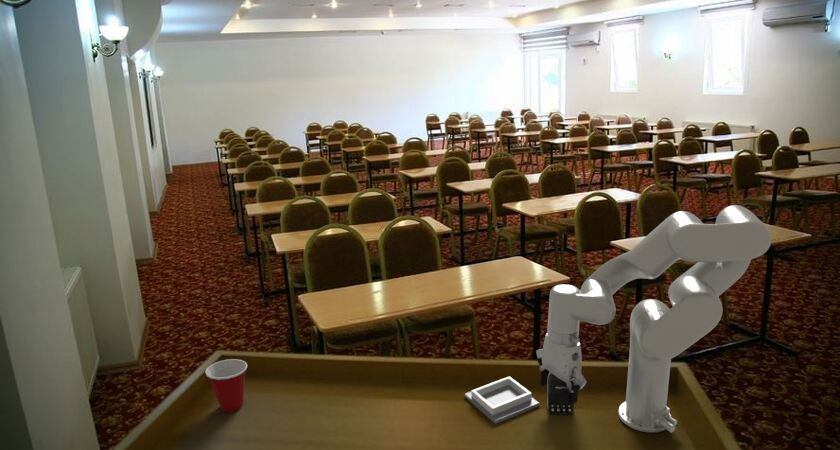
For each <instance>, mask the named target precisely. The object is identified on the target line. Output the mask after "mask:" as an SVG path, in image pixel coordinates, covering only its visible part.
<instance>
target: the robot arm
mask: <svg viewBox="0 0 840 450" xmlns="http://www.w3.org/2000/svg"><path fill="white" fill-rule="evenodd" d="M771 243H772V234H771V231H770V230H769V228H768V226H767V225H766V224H765V223H764V222H763V221H761V219H759V218H758V217H757V215H755V214H754V212H752V211H751V210H750V209H748V208H746V207H745V206H742V205H739V204H738V205H737V204H734V205H733V204H732V205H729V206H726V207H724V208H723V209H722V210H720V212H719V213H718V215H717V217H716V220H715V222H714V223H703V222H702V220H701V219H700V218H699V217H698V216H696V215H695V214H694V213H691V212H690V211H686V210H680V211H676V212H674V213H672V214H670V215H669V216H668V217H666V218H665V219H664V220H663V221H662V222H661V223H659V224H658V226H656V227H655V228H654V229H653V230H652V231H650V232H649V233H648V234H647V235H645V237H644V238H643V239H641V241H639V242H638V243H637V244H636V245H635V246H633V247H632V248H631V249H630V250H629V251H626V252H625V253H622V254H619V255H617V256H616V257H613V258H611V259H610V260H608V261H606V262H605V263H603V264H602V265H601V266H599V267H598V268H597V269H596V270H595V271H594V272H593V273H592V274H591V275H590V276H588V278H586V279H585V281H584V282H583V284H582V285H581V287H580V289H579V288H578V287H577V286H575V285H572V284H565V283H563V284H557V285H556V284H555V286H553V287H552V288H551V289H550V291H549V302H548V315H547V316H548V317H547V331H546V332H547V333H546V334H545V337H544V341H543V347H542V348H539V349H537V350H535V352H536V357H537V363H538V365H539V368H538V369H539V371H540V380H539V381H540V382H539V385H540V386H542V387H543V386H547V380H548V374H549V372H551V373H552V374H553V375H555V376H556V377H558V378H559V379H561V380H562V381H564V382H566V384H567V387H568V389H569V390H568V391H567V395H566V405H571V404H573V403H574V404H575V403H577V402H578V395H579V391H580V390H582V389H584V387H585V386H586V384H587V383H588V382H587V380H586V378H585V376H584V375H583V374H582V364H583V363H582V362H583V361H582V347H581V343H580V341H581V339H580V338H579V335H580V333H579V331H580V321H581V322H585V323H589V324H593V325H598V326H599V325H606V324H609V323H611V322H612V321H613V320H614V319H615V316H616V312H617V311H616V308H617V307H616V305H615V300H614V297H613V295H614V294H615V293H616V292H617V291H619V290H620V289H621V288H623V287H624V286H625V285H626V284H627V283H629V282H631V281H634V280H637V279H645V280H646V279H648V280H655V279H657V278H659V276H661V275H662V274H663V273H664V272H666V271H667V270H668V269H669V268H670V267H671V266H672V265H673V264H675V263H676V262H678V261H679V260H680V259H681V261H685V262H690V263H691V262H692V263H695V264H694V265H693V266H691V267H690V268H688V269H687V270H686V271H685V272H684V273H682V274H681V275H679V276H678V277H677V278H676V279H674V281H672V283H671V284H670V285H669V287H668V289H667V290H668V291H667V292H668V293H667V294H668V299H669V302H670V304H671V306H672V307H671V308H670V307H668V306H667V304H665V303H664V302H662V301H661V300H658V299H655V298H654V299H652V298H647V299H644V300H641V301H639V302H638V303H637V304H636V305H635V306H634V308H633V309H632V311H631V314H630V317H629V318H630V319H629V355H628V367H627V369H628V370H627V382H626V393H625V401H624V402H622V403H621V404H620V405H619V408H618V418H619V419H620V420H621V422H623V423H624V424H625V425H626V426H628V427H629V428H631V429H633V430H636V431H639V432H644V433H650V434H651V433H660V432H663V431H668V432H669V433H671V434H673V433H674V431H675V430H676V426H677V424H678V420H677V419H675V418H674V417H672V415H671V412H670V410H671V408H670V407H668V406H667V403H668V402H667V401H668V393H669V383H670V382H669V381H670V372H671V364H672V363H671V362H672V359H673V358H675V357H677V356H678V355H680V354H682V353H683V352H684V351H686V350H687V349H689V348H690V347H691V346H692V345H694V344H695V343H696V342H698V341H700V339H702V338H703V337H705V336H706V335H707V334H709V333H710V332H711V331H712V330H713V329H715V328H716V327H717V325H718V323H720V321H721V318H722V316H723V310H724V309H723V303H722V301H721V299H720V296H721V295H722V294H723V293H724V292H726V291H727V290H728V289H730V287H732V286H733V285H734V284H736V282H737V281H738V280H739V279H741V278H742V276H743V275H744V274H745V272H747V270H748V269H749V268H748V267H749V265H750V264H751V261H752V260H753V259H757V258H759V257H761V256H763V255H764V254H765V253H767V251H768V250H769V248H770V247H771ZM571 376H572V378H571ZM570 381H573V382H574V385H575V386H573V387H572V385H571V382H570Z"/></svg>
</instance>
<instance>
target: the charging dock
mask: <svg viewBox="0 0 840 450" xmlns="http://www.w3.org/2000/svg"><path fill="white" fill-rule="evenodd" d="M532 394H533V393H532V392H531V391H530V390H528V389H527V388H526V387H525V386H523V385H521V384H520V382H518V381H517V380H515V379H513V378H512V377H511V376H510V375H509V376H507V377H504V378H500V379H499V380H495V381H492V382H490V383H488V384H485V385H482V386H480V387H477V388H475V389H472V390H470V391H468V392H466V393H464V398H466V399H467V401H469V402H470V403H471V404H472V405H473V406H474V407H475V408H477V410H479V411H480V412H481V413H482V414H484V415H485V416H486V417H487V418H488V419H489V420H490V421H491V422H492V423H493V424H495V425H497V424H500V423H502V422H504V421H507V420H509V419H511V418H513V417H516V416H519V415H521V414H523V413H527V412H528V411H531V410H533V409H535V408H537V407H540V402H539V401H537V400H536V399H535V398H534V397H533V395H532Z"/></svg>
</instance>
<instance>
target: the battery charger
mask: <svg viewBox="0 0 840 450" xmlns="http://www.w3.org/2000/svg"><path fill="white" fill-rule="evenodd" d="M571 378H572V376H571ZM570 382H571V385H572V387H573V386H575V385H574V382H573V381H570ZM568 390H569V389H568V387H567V384H566V382H564V381H562V380H561V379H559V378H558V377H556V376H555V375H553V374H552V373H551V372H549V374H548V380H547V385H546V393H547V394H546V395H547V396H546V397H547V404H546V409H547V411H548V413H550V414H552V415H572V414H574V411H575V408H574V407H575V405H574V404H575V403H573V404H571V405H566V395H567V391H568Z"/></svg>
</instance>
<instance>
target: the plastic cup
mask: <svg viewBox="0 0 840 450" xmlns="http://www.w3.org/2000/svg"><path fill="white" fill-rule="evenodd" d="M247 368H248V363H247V362H246V361H244V360H242V359H235V358H229V359H223V360H219V361H217V362H214V363H212V364H210V365H209V366H207V367H206V369H205V372H204V373H205V375H206V377H207V378H208V380H209V381H210V384H211V386H212V388H213V392H214V394H215V397H216V400H217V401H218V404H219V408H220V409H221V410H222V411H223V412H225V413H233V412H236V411H238V410H240V409H241V408H243V404H244V394H245V381H246V380H245V376H246V371H247Z"/></svg>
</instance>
